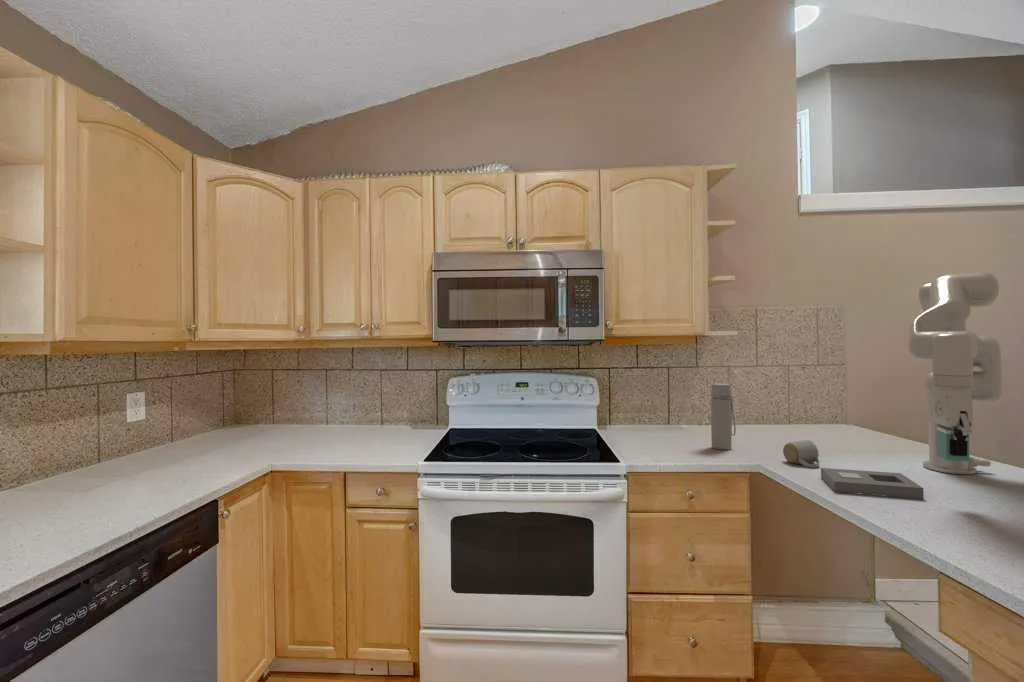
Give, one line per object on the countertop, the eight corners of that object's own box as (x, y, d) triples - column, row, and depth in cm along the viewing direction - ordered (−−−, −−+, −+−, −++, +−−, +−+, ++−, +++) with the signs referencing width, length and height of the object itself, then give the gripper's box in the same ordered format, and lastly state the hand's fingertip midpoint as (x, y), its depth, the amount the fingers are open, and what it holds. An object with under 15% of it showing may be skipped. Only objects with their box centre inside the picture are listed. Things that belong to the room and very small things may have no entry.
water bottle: (717, 451, 179) (716, 385, 179) (707, 446, 187) (706, 383, 186) (740, 450, 179) (739, 384, 179) (730, 445, 187) (729, 382, 187)
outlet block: (900, 483, 137) (900, 472, 137) (923, 499, 124) (923, 487, 124) (821, 477, 144) (820, 467, 144) (834, 492, 131) (834, 480, 131)
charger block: (959, 456, 121) (959, 425, 121) (969, 461, 117) (969, 429, 117) (937, 455, 123) (936, 425, 123) (946, 460, 119) (946, 428, 118)
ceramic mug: (781, 460, 164) (781, 438, 164) (802, 459, 165) (802, 437, 165) (804, 469, 153) (804, 446, 153) (826, 468, 155) (826, 445, 154)
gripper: (918, 377, 129) (919, 443, 129) (951, 386, 113) (952, 461, 113) (953, 377, 126) (953, 445, 127) (991, 386, 110) (992, 463, 111)
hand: (952, 451), depth 120 cm, fingers closed on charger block, 4 cm apart
